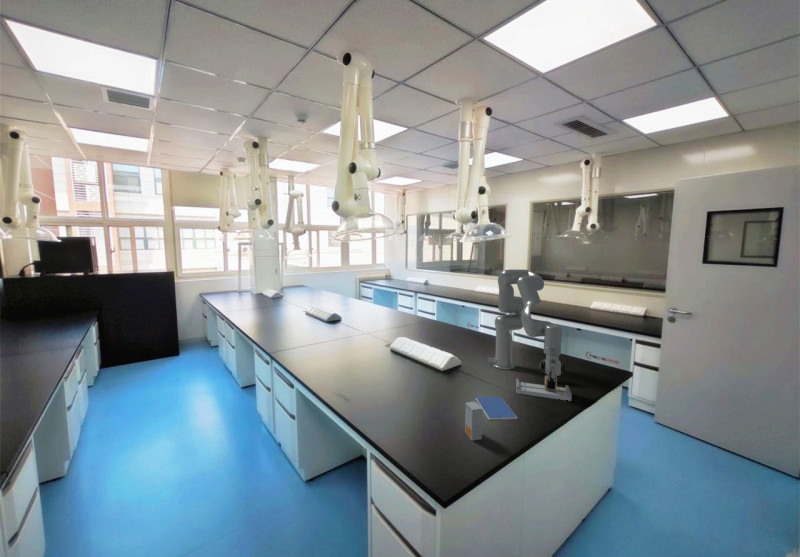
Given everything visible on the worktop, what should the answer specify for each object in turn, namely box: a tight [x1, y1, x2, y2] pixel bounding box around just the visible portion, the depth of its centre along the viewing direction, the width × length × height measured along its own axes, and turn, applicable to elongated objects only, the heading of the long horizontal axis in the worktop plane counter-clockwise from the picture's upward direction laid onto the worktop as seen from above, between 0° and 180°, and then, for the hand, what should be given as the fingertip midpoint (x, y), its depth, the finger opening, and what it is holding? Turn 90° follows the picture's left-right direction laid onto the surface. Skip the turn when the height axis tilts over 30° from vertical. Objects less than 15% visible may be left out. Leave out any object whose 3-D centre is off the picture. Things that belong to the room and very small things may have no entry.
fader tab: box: [544, 375, 558, 392], centre depth 154 cm, size 5×4×6 cm
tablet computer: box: [475, 396, 519, 421], centre depth 140 cm, size 19×13×1 cm, turn 3°
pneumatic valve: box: [539, 358, 566, 379], centre depth 170 cm, size 6×12×12 cm, turn 76°
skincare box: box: [464, 401, 483, 441], centre depth 118 cm, size 6×4×12 cm
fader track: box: [515, 378, 573, 402], centre depth 155 cm, size 24×10×4 cm, turn 71°
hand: (550, 386), depth 154 cm, fingers closed on fader tab, 3 cm apart
